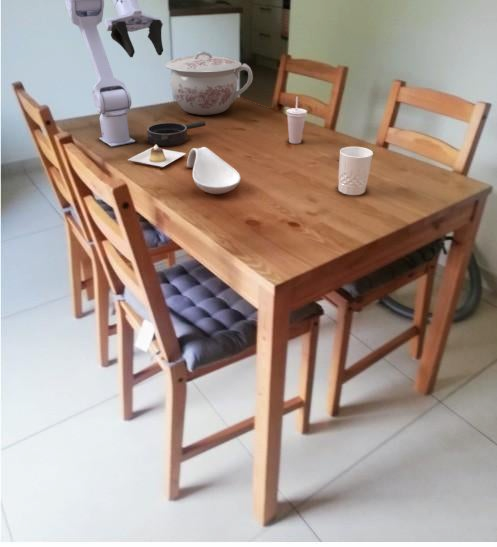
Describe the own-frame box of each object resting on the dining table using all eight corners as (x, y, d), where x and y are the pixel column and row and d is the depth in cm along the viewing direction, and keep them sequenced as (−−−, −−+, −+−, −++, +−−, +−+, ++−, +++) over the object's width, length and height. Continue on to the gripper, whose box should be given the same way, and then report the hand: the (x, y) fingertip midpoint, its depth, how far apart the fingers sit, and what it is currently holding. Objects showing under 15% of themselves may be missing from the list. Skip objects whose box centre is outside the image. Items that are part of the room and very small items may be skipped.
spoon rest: (248, 195, 122) (248, 167, 118) (203, 203, 118) (201, 174, 114) (213, 163, 140) (212, 138, 136) (173, 169, 136) (171, 144, 132)
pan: (141, 139, 158) (140, 127, 155) (175, 132, 164) (174, 120, 162) (160, 149, 149) (159, 136, 147) (194, 142, 156) (194, 129, 154)
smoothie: (282, 143, 155) (284, 97, 148) (288, 137, 160) (290, 92, 153) (301, 146, 153) (304, 99, 146) (307, 140, 158) (310, 94, 151)
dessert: (152, 150, 149) (151, 134, 146) (186, 157, 144) (185, 140, 142) (127, 163, 140) (125, 146, 137) (163, 170, 135) (161, 153, 133)
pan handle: (182, 129, 159) (181, 124, 158) (202, 125, 163) (202, 120, 162) (184, 130, 158) (184, 125, 157) (205, 126, 162) (205, 121, 161)
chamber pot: (153, 112, 184) (147, 52, 172) (200, 98, 203) (197, 43, 191) (212, 125, 170) (210, 61, 159) (256, 109, 189) (257, 50, 178)
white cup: (360, 199, 120) (366, 159, 115) (330, 192, 124) (334, 153, 118) (371, 188, 126) (377, 150, 121) (343, 181, 129) (347, 144, 124)
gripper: (101, -8, 114) (123, 44, 113) (157, -8, 122) (178, 41, 121) (95, 14, 120) (116, 63, 119) (149, 13, 128) (169, 59, 127)
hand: (146, 53), depth 120 cm, fingers open, 7 cm apart
